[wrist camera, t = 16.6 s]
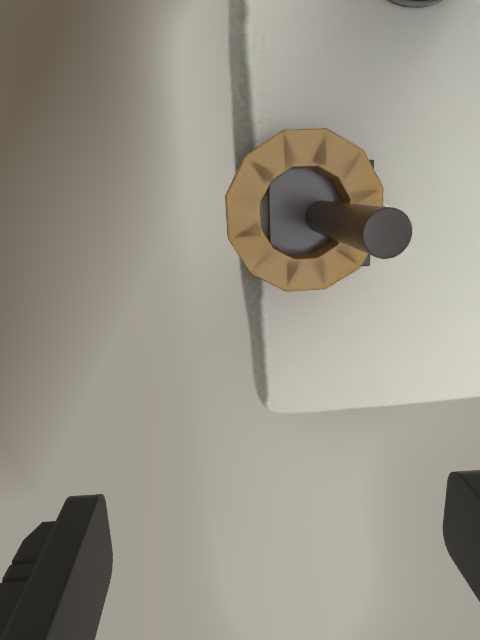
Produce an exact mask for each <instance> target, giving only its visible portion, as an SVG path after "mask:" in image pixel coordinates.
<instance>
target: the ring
mask: <svg viewBox="0 0 480 640" xmlns="http://www.w3.org/2000/svg"><path fill="white" fill-rule="evenodd" d="M309 167H311V168H313V169H314V170H316V171H318V172H320V173H321V174H323V175H325V176H327V177H329V178H330V179H331V181H332V182H333V184H334V186H335V188H336V190H337V191H338V193H339V195H340V197H341V202H342V203H351V204H361V205H371V206H381V207H383V186H382V184H381V183H380V181H379V179H378V177H377V175H376V173H375V171H374V169H373V167H372V165H371V163H370V161H369V160H368V158H367V156H366V154H365V152H364V151H363V149H361V148H359V147H357V146H356V145H354V144H352V143H351V142H349V141H347V140H345V139H344V138H342V137H340V136H339V135H337V134H335V133H334V132H332V131H330V130H328V129H326V128H325V129H302V130H283V131H281V132H280V133H278V134H277V135H275V136H274V137H272V138H271V139H269V140H268V141H266V142H265V143H263V144H262V145H261V146H259V147H258V148H256V149H255V150H253V151H252V152H250V153H249V154H247V155H246V156H245V157H244V158H243V160H242V162H241V164H240V166H239V168H238V170H237V172H236V174H235V176H234V178H233V180H232V183H231V185H230V187H229V189H228V191H227V193H226V196H225V198H226V218H227V235H228V238H229V241H230V242H231V244H232V245H233V247H234V248H235V250H236V252H237V253H238V255H239V256H240V258H241V259H242V261H243V263H244V264H245V266H246V267H247V269H248V270H249V272H250V273H251V274H253V275H255V276H256V277H258V278H260V279H262V280H264V281H266V282H268V283H270V284H272V285H274V286H276V287H278V288H280V289H282V290H284V291H300V290H317V289H325V288H328V287H330V286H331V285H333V284H334V283H336V282H338V281H339V280H341V279H342V278H344V277H346V276H347V275H349V274H350V273H352V272H354V271H355V270H357V269H358V268H360V267H361V265H362V264H363V262H364V260H365V258H366V257H367V255H368V254H367V253H365V252H363V251H360V250H358V249H355V248H353V247H351V246H348V245H346V244H343V243H341V242H339V241H336V240H334V239H331V240H330V242H328V243H327V244H325V245H324V246H322V247H320V248H319V249H317V250H316V251H314V252H313V253H311V254H293V255H289V254H287V253H285V252H283V251H281V250H279V249H277V248H275V247H274V246H272V245H271V243H270V242H269V240H268V238H267V237H266V235H265V233H264V232H263V230H262V229H261V206H260V203H261V201H262V199H263V197H264V195H265V194H266V192H267V190H268V188H269V186H270V184H271V182H272V181H273V180H274V179H276V178H277V177H279V176H280V175H282V174H283V173H285V172H286V171H288V170H289V169H291V168H309Z"/></svg>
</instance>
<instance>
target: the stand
mask: <svg viewBox="0 0 480 640" xmlns="http://www.w3.org/2000/svg"><path fill="white" fill-rule="evenodd" d="M369 161H370V163H371V165H372V167H373V169H374V160H369ZM266 193H267V238H268V240H269V242H270V243H271V245H272V246H274V247H275V248H277V249H279V250H281V251H283V252H285V253H287V254H289V255H293V254H311V253H313V252H314V251H316V250H317V249H319V248H320V247H322V246H324V245H325V244H327V243H328V242H330V240H331V239H334V240H336V241H339V242H341V243H343V244H346V245H348V246H351V247H353V248H355V249H358V250H360V251H363V252H365V253H367V254H368V255H367V257H366V258H365V260H364V262H363V264H362V265H361V266H369V265H370V255H372V256H375V257H377V258H381V259H388V258H393V257H395V256H397V255H399V254H400V253H402V252H403V251H404V250H405V248H406V247H407V246H408V244H409V242H410V240H411V236H412V226H411V222H410V220H409V218H408V217H407V215H406V214H405V213H404V212H402V211H401V210H399V209H396V208H390V207H381V206H371V205H361V204H351V203H342V202H341V197H340V195H339V193H338V191H337V190H336V188H335V186H334V184H333V182H332V181H331V179H330V178H329V177H327V176H325V175H323V174H321V173H320V172H318V171H316V170H314V169H313V168H311V167H309V168H291V169H289V170H288V171H286V172H285V173H283V174H282V175H280V176H279V177H277V178H276V179H274V180H273V181H272V182H271V184H270V186H269V188H268V190H267V192H266Z"/></svg>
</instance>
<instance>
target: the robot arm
mask: <svg viewBox="0 0 480 640" xmlns="http://www.w3.org/2000/svg"><path fill="white" fill-rule="evenodd" d="M390 1H392V2H394V3H397V4H400V5H403V6H409V7H421V6H427V5H431V4H434V3H437V2H439V1H442V0H390ZM443 536H444V541H445V545H446V547H447V550H448V552H449V555H450V556H451V558H452V560H453V561H454V563H455V564H456V566H457V567H458V569H459V570H460V572H461V574H462V575H463V577H464V578H465V580H466V581H467V583H468V584H469V586H470V588H471V589H472V591H473V592H474V594H475V595H476V597H477V598H478V600H479V601H480V470H472V471H457V472H451V473H450V474H449V477H448V481H447V490H446V500H445V510H444V520H443ZM112 553H113V552H112V543H111V537H110V529H109V522H108V515H107V508H106V501H105V497H104V495H102V494H96V495H81V496H69V497H68V498H67V499H66V501H65V503H64V505H63V507H62V509H61V511H60V513H59V516H58V518H57V520H56V521H53V522H42V523H41V524H40V525H39V526H38V527H37V528H36V529H35V530H34V531H33V532H32V533H31V534H29V535H28V537H26V538H25V539H24V540H23V542H22V544H21V546H20V547H19V549H18V551H17V553H16V555H15V557H14V558H13V560H12V565H10V566H9V568H8V569H7V571H6V573H5V575H4V577H3V581H2V583H0V640H95V637H96V633H97V629H98V625H99V621H100V617H101V614H102V610H103V606H104V603H105V599H106V595H107V591H108V587H109V584H110V579H111V574H112V562H113V554H112Z"/></svg>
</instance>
